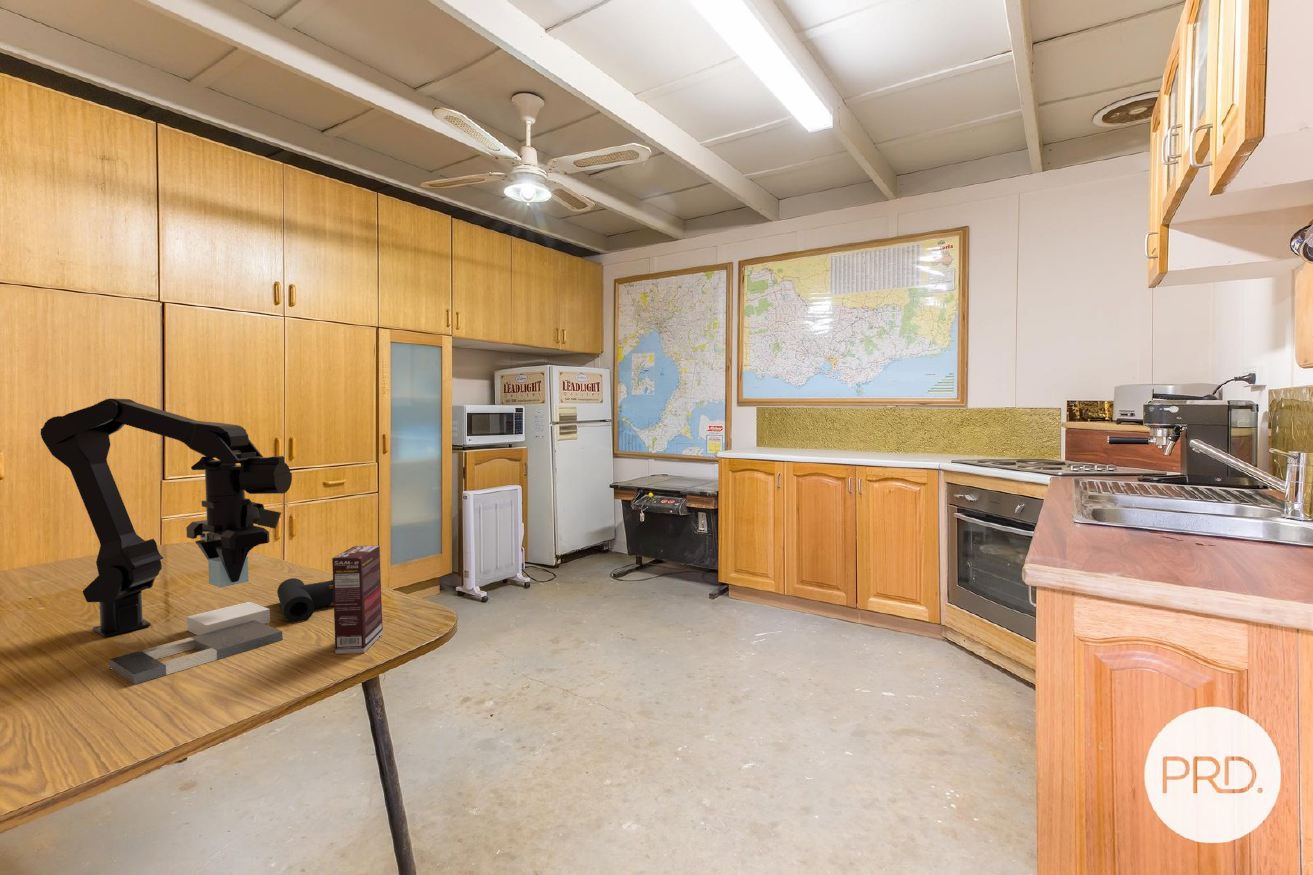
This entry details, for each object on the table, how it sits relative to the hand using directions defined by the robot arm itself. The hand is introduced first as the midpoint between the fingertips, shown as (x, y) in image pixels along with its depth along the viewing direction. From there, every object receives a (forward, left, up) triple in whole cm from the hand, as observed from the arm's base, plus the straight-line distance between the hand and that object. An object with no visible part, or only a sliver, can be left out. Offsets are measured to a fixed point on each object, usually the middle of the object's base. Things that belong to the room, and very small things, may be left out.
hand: (228, 579), depth 109 cm
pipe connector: (+2, +14, -9) cm, 17 cm away
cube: (0, 0, 0) cm, 0 cm away
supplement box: (+28, +8, -9) cm, 30 cm away
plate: (+10, -8, -9) cm, 15 cm away
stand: (0, 0, -9) cm, 9 cm away
